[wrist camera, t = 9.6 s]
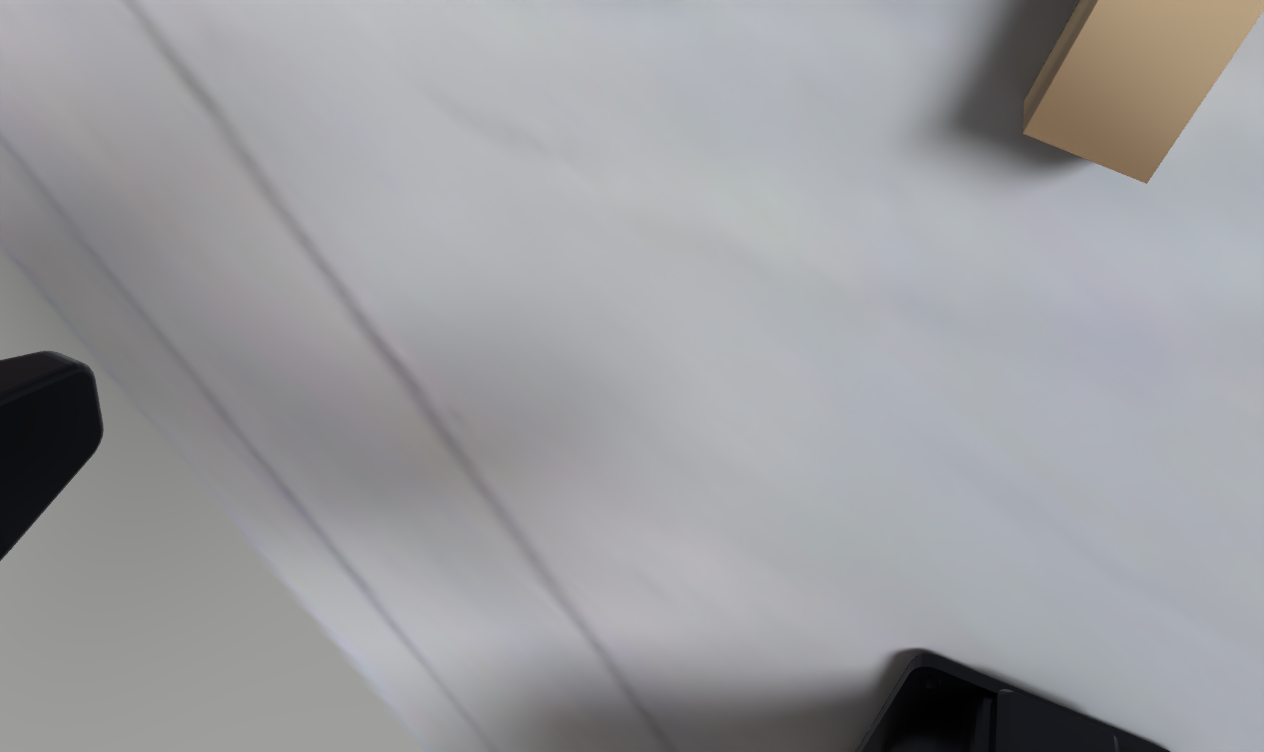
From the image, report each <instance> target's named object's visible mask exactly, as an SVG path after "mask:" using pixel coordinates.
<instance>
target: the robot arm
mask: <svg viewBox="0 0 1264 752" xmlns="http://www.w3.org/2000/svg"><path fill="white" fill-rule="evenodd" d="M102 437H103V421H102V415H101V409H100V404H99V397H98V392H97V386H96V380H95V376H94V373H93V371H92V370H91V369H90V367H89V366H87V365H86V364H84V363H82V362H80V361H77V360H75V359H73V358H70V357H68V356H65V355H63V354H60V353H58V352H53V351H42V352H36V353H32V354H27V355H23V356H18V357H14V358H9V359H4V360H0V561H1V559H3V557H4V556H5V555H6V554H7V553H8V552H9V551H10V550H11V549H12V547H13V546H14V545H15V544H16V543H17V542H18V540H19V539H20V538H21V537H22V536H23V535H24V534H25V532H26V531H27V530H28V529H29V528H30V527H31V526H32V524H33V523H34V522H35V521H36V520H37V519H38V517H39V516H40V515H41V514H42V513H43V512H44V511H45V509H46V508H47V507H48V506H49V505H50V504H51V502H52V501H53V500H54V499H55V498H56V497H57V496H58V494H59V493H60V492H61V491H62V490H63V489H64V488H65V486H66V485H67V484H68V483H69V482H70V481H71V479H72V478H73V477H74V476H75V475H76V474H77V473H78V471H79V470H80V469H81V468H82V467H83V466H84V465H85V463H86V462H87V461H88V460H89V459H90V458H91V456H92V455H93V454H94V453H95V451H96V450H97V448H98V446H99V444H100V442H101V439H102ZM926 674H932V675H934V676H933V677H932V676H928V675H926ZM856 752H1170V751H1168V750H1166V749H1163V748H1161V747H1158V746H1156V745H1154V744H1151V743H1149V742H1146V741H1144V740H1141V739H1139V738H1136V737H1134V736H1132V735H1129V734H1127V733H1124V732H1122V731H1119V730H1117V729H1115V728H1112V727H1110V726H1107V725H1105V724H1102V723H1100V722H1097V721H1095V720H1093V719H1090V718H1088V717H1085V716H1083V715H1080V714H1078V713H1075V712H1073V711H1071V710H1068V709H1066V708H1063V707H1061V706H1058V705H1056V704H1054V703H1051V702H1049V701H1046V700H1044V699H1041V698H1039V697H1036V696H1034V695H1032V694H1029V693H1027V692H1024V691H1022V690H1019V689H1017V688H1014V687H1012V686H1010V685H1007V684H1005V683H1002V682H1000V681H997V680H995V679H993V678H990V677H988V676H985V675H983V674H980V673H978V672H975V671H973V670H971V669H968V668H966V667H963V666H961V665H958V664H956V663H953V662H951V661H949V660H946V659H944V658H941V657H939V656H935V655H931V654H922V655H919V656H916V657H915V658H914V659H913V660H912V661H911V662H910V664H909V665H908V667H907V669H906V670H905V672H904V673H903V675H902V677H901V678H900V680H899V682H898V683H897V685H896V687H895V688H894V690H893V692H892V693H891V695H890V697H889V698H888V700H887V701H886V703H885V705H884V706H883V708H882V710H881V711H880V713H879V715H878V716H877V718H876V720H875V721H874V723H873V725H872V726H871V728H870V729H869V731H868V733H867V734H866V736H865V738H864V739H863V741H862V743H861V744H860V746H859V748H858V749H857V751H856Z"/></svg>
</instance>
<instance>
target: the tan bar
mask: <svg viewBox="0 0 1264 752" xmlns="http://www.w3.org/2000/svg"><path fill="white" fill-rule="evenodd" d="M1263 11H1264V0H1080V1H1079V2H1078V4H1077V6H1076V8H1075V10H1074V11H1073V13H1072V15H1071V17H1070V19H1069V21H1068V22H1067V24H1066V26H1065V28H1064V30H1063V31H1062V33H1061V35H1060V37H1059V39H1058V40H1057V42H1056V44H1055V46H1054V48H1053V49H1052V51H1051V53H1050V55H1049V57H1048V58H1047V60H1046V62H1045V64H1044V66H1043V67H1042V69H1041V71H1040V73H1039V75H1038V76H1037V78H1036V80H1035V82H1034V84H1033V85H1032V87H1031V89H1030V91H1029V93H1028V94H1027V96H1026V98H1025V100H1024V115H1023V134H1025V135H1028V136H1030V137H1033V138H1035V139H1037V140H1040V141H1042V142H1045V143H1047V144H1050V145H1052V146H1055V147H1057V148H1060V149H1062V150H1065V151H1067V152H1070V153H1072V154H1075V155H1077V156H1079V157H1082V158H1084V159H1087V160H1089V161H1092V162H1094V163H1097V164H1099V165H1102V166H1104V167H1107V168H1109V169H1112V170H1114V171H1117V172H1119V173H1122V174H1124V175H1126V176H1129V177H1131V178H1134V179H1136V180H1139V181H1141V182H1144V183H1146V184H1147V183H1148V181H1149V180H1150V178H1151V177H1152V175H1153V174H1154V172H1155V171H1156V169H1157V168H1158V166H1159V165H1160V163H1161V162H1162V160H1163V159H1164V157H1165V156H1166V154H1167V153H1168V152H1169V150H1170V149H1171V147H1172V146H1173V144H1174V143H1175V141H1176V140H1177V138H1178V137H1179V135H1180V134H1181V132H1182V131H1183V129H1184V128H1185V126H1186V125H1187V123H1188V122H1189V120H1190V119H1191V117H1192V116H1193V115H1194V113H1195V112H1196V110H1197V109H1198V107H1199V106H1200V104H1201V103H1202V101H1203V100H1204V98H1205V97H1206V95H1207V94H1208V92H1209V91H1210V89H1211V88H1212V86H1213V85H1214V83H1215V82H1216V81H1217V79H1218V78H1219V76H1220V75H1221V73H1222V72H1223V70H1224V69H1225V67H1226V66H1227V64H1228V63H1229V61H1230V60H1231V58H1232V57H1233V55H1234V54H1235V52H1236V51H1237V49H1238V48H1239V46H1240V45H1241V44H1242V42H1243V41H1244V39H1245V38H1246V36H1247V35H1248V33H1249V32H1250V30H1251V29H1252V27H1253V26H1254V24H1255V23H1256V21H1257V20H1258V18H1259V17H1260V15H1261V14H1262V12H1263Z"/></svg>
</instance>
